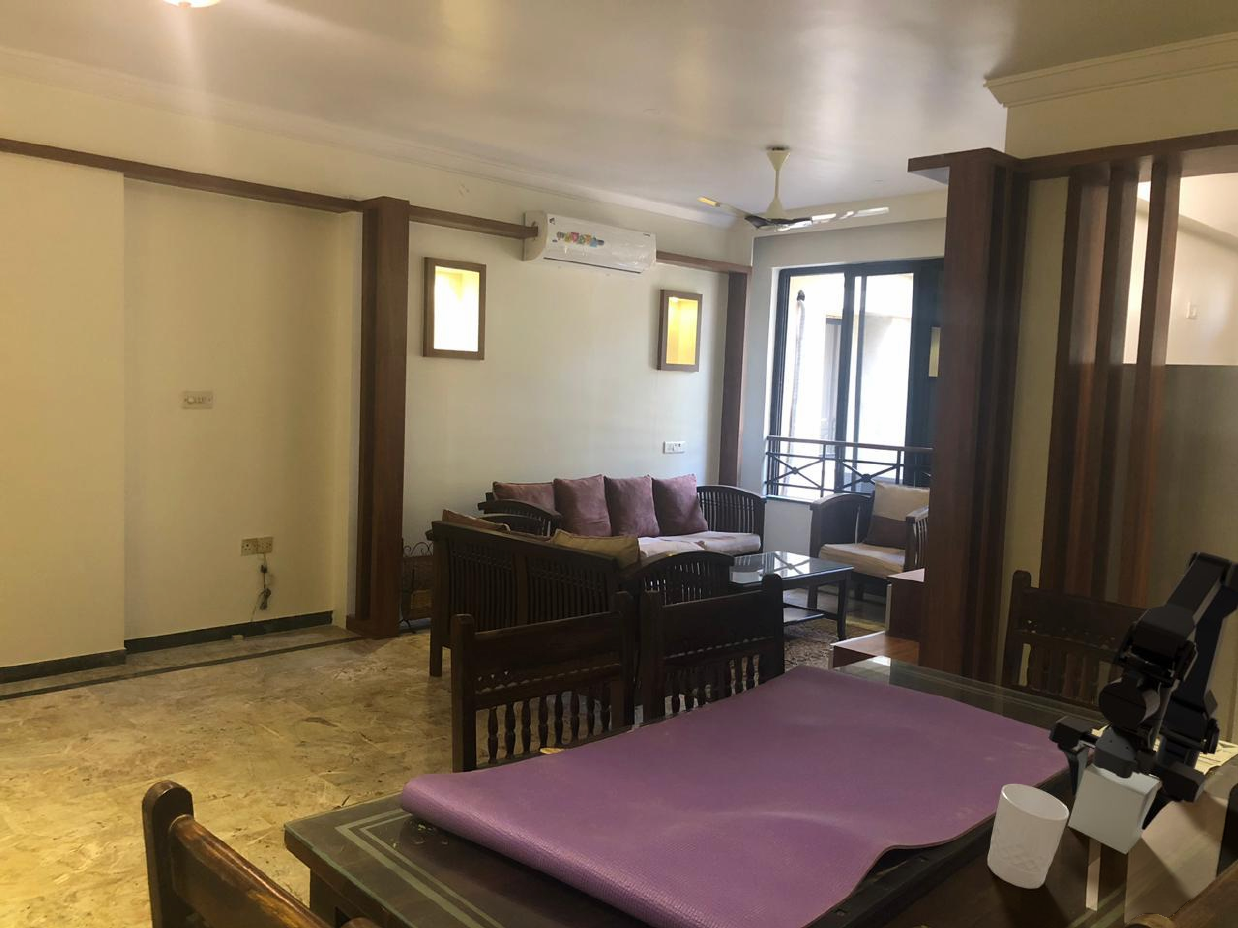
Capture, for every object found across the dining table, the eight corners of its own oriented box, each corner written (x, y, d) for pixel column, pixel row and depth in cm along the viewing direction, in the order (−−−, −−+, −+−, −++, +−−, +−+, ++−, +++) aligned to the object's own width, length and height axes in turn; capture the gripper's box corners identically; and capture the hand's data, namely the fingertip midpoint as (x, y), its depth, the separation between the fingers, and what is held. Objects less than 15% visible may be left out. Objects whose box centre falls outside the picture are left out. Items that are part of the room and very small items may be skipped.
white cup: (1036, 860, 123) (1056, 791, 121) (1056, 898, 115) (1078, 825, 113) (975, 847, 124) (994, 778, 122) (991, 883, 116) (1012, 810, 114)
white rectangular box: (1085, 809, 139) (1101, 755, 138) (1141, 836, 134) (1159, 780, 132) (1067, 825, 134) (1084, 769, 132) (1125, 854, 129) (1143, 796, 127)
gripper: (1050, 692, 129) (1021, 795, 132) (1202, 755, 117) (1166, 867, 120) (1077, 677, 138) (1048, 774, 141) (1221, 734, 125) (1187, 839, 128)
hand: (1108, 811), depth 132 cm, fingers open, 9 cm apart
